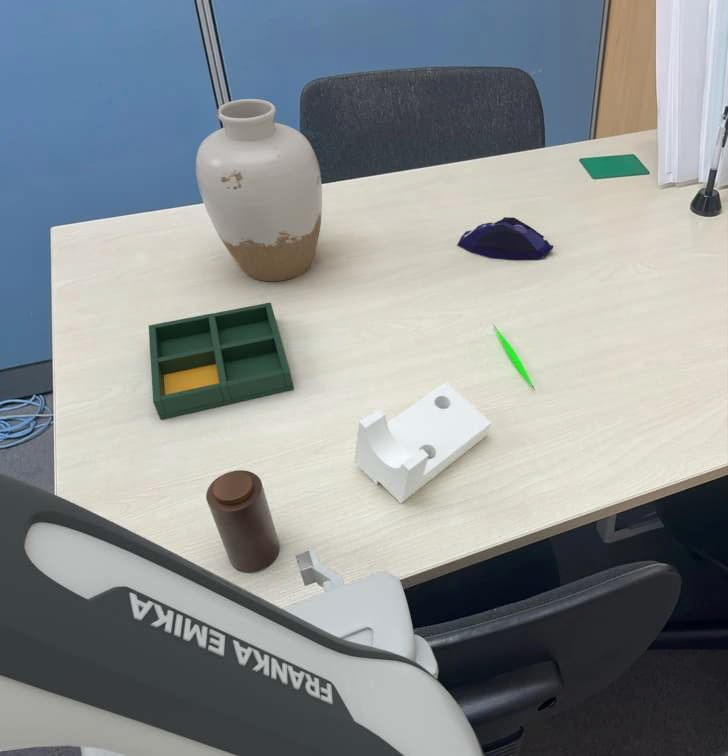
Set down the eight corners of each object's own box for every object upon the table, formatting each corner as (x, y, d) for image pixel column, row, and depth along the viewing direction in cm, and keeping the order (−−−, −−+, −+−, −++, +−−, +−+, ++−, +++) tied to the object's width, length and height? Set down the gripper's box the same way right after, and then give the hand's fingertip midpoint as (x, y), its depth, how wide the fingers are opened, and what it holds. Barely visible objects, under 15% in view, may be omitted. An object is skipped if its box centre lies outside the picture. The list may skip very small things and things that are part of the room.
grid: (160, 420, 80) (152, 401, 78) (154, 342, 90) (148, 325, 88) (294, 389, 84) (290, 371, 82) (274, 319, 94) (270, 302, 92)
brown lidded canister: (232, 579, 65) (206, 513, 58) (226, 540, 68) (201, 473, 62) (283, 563, 66) (264, 497, 60) (276, 526, 69) (256, 459, 63)
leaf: (531, 393, 85) (531, 388, 84) (489, 326, 94) (489, 321, 94) (538, 392, 85) (538, 386, 84) (495, 325, 95) (496, 320, 94)
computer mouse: (470, 222, 115) (470, 200, 113) (559, 238, 113) (562, 215, 110) (452, 251, 109) (451, 227, 106) (546, 268, 106) (548, 244, 103)
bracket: (399, 508, 73) (409, 470, 67) (354, 462, 75) (359, 421, 69) (484, 440, 80) (499, 401, 74) (441, 400, 82) (452, 359, 76)
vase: (212, 249, 107) (170, 95, 92) (315, 228, 112) (292, 80, 97) (234, 305, 96) (190, 142, 81) (347, 278, 102) (326, 121, 87)
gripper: (445, 663, 42) (376, 502, 52) (63, 828, 35) (66, 608, 45) (451, 714, 46) (386, 555, 56) (109, 871, 39) (102, 660, 49)
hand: (240, 580), depth 50 cm, fingers open, 8 cm apart
